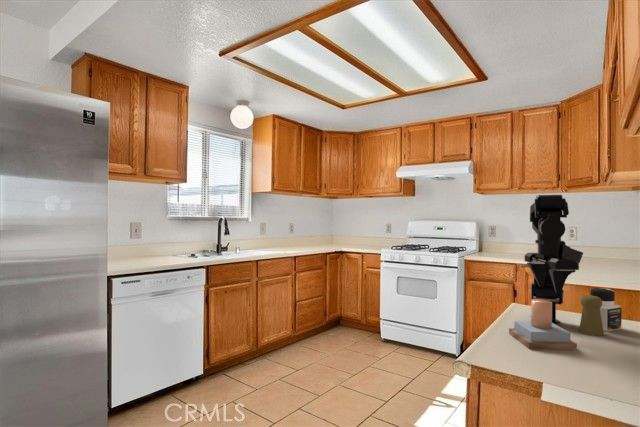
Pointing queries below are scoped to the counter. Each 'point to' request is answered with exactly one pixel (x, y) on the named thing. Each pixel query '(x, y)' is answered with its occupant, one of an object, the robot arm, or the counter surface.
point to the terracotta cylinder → (541, 313)
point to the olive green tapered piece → (591, 316)
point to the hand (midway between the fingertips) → (549, 289)
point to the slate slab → (541, 332)
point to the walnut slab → (542, 343)
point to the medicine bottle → (608, 309)
